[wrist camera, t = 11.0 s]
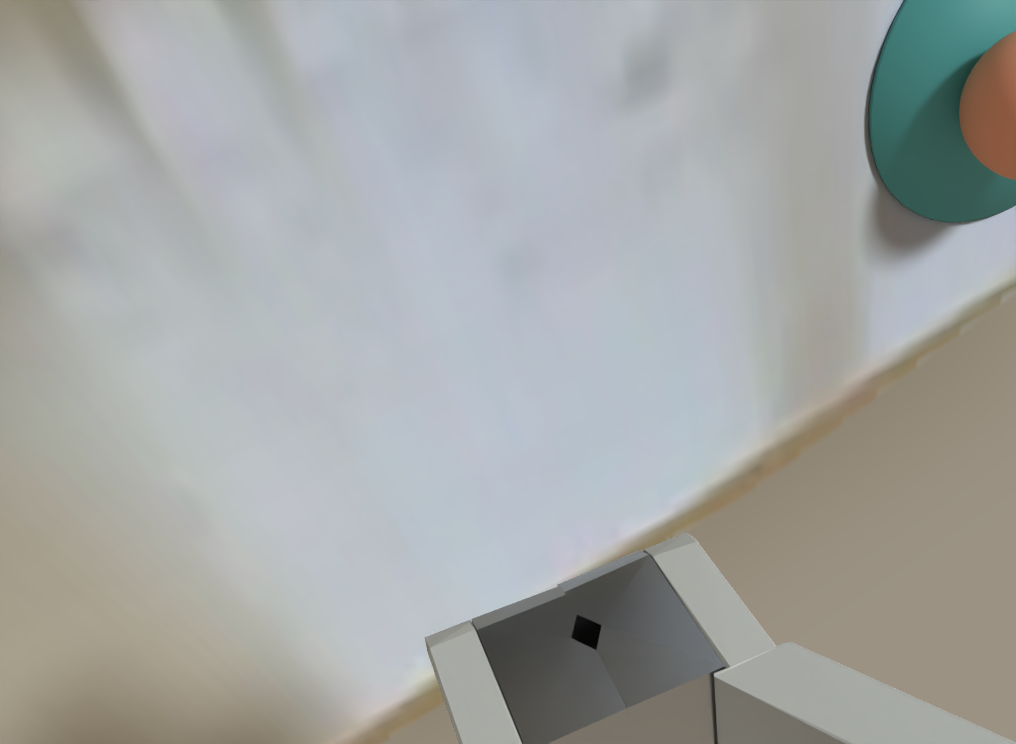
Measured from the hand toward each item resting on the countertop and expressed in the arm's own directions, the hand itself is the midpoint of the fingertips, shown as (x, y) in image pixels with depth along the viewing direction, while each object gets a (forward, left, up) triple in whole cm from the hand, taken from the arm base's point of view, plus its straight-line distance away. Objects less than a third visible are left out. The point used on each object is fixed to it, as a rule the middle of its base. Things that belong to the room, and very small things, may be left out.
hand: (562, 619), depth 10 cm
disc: (+5, +25, -21) cm, 33 cm away
